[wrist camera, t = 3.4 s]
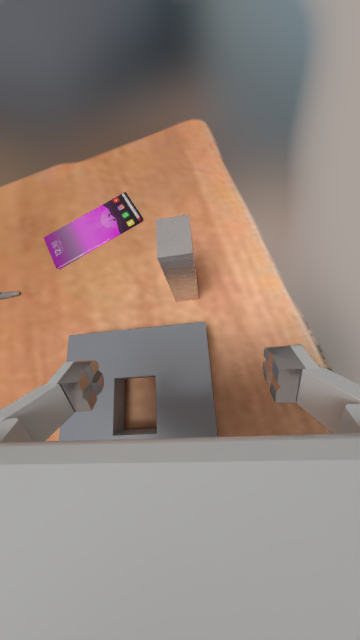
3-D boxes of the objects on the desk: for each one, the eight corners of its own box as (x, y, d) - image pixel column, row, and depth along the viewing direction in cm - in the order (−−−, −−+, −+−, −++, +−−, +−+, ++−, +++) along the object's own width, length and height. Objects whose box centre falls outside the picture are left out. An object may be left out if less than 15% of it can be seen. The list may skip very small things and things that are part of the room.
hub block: (222, 483, 21) (224, 499, 18) (72, 485, 23) (53, 500, 20) (205, 328, 26) (205, 321, 23) (83, 340, 27) (68, 335, 25)
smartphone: (145, 224, 33) (144, 219, 32) (59, 271, 32) (55, 268, 31) (126, 195, 35) (124, 191, 34) (45, 238, 34) (41, 235, 33)
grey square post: (198, 299, 27) (192, 252, 17) (175, 301, 27) (157, 257, 18) (196, 270, 28) (188, 213, 19) (174, 273, 28) (156, 218, 19)
